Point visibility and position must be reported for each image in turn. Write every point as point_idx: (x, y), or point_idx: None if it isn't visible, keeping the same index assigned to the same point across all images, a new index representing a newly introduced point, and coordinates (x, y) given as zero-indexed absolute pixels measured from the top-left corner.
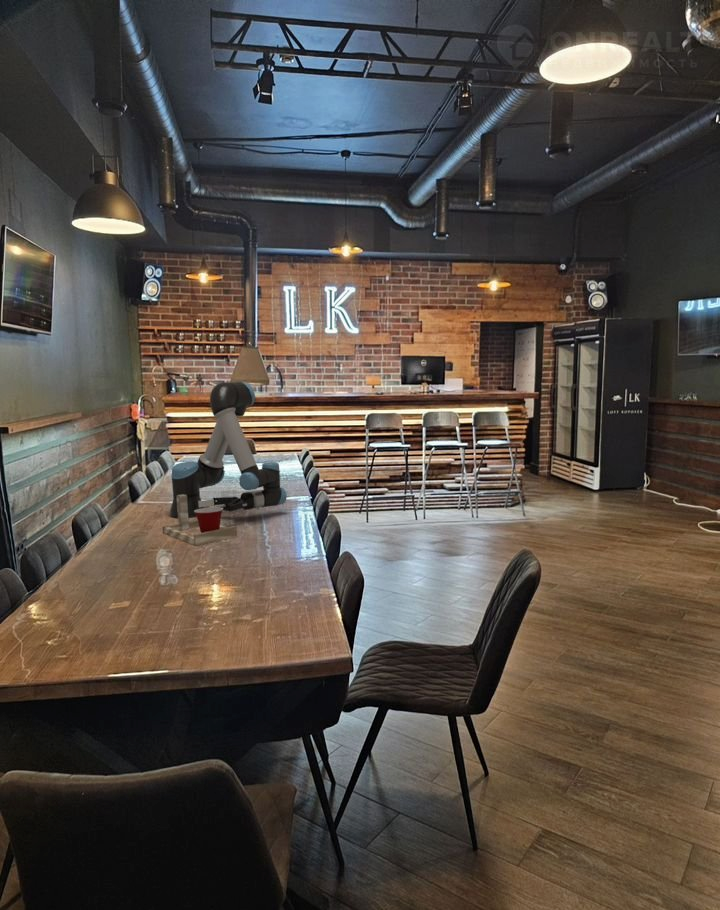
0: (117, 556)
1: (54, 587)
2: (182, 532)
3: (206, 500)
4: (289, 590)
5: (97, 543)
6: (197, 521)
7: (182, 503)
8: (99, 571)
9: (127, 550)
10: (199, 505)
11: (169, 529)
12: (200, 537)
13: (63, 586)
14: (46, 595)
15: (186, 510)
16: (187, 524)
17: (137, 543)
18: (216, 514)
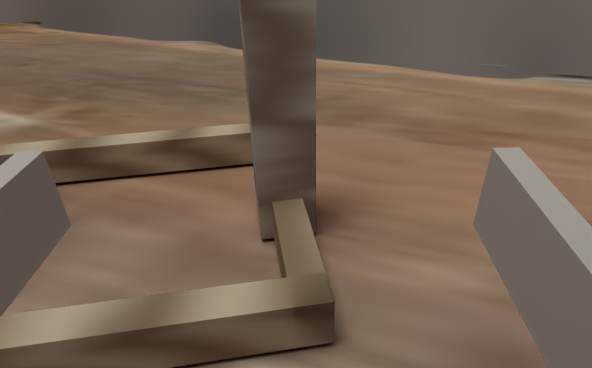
0: (106, 70)
1: (30, 31)
2: (64, 148)
3: (549, 222)
4: None
5: None
6: (284, 262)
7: (240, 19)
8: (30, 53)
9: (139, 82)
10: (480, 204)
11: (192, 128)
12: None
13: (18, 35)
14: (4, 28)
15: (249, 99)
16: (258, 204)
17: (195, 97)
18: None
